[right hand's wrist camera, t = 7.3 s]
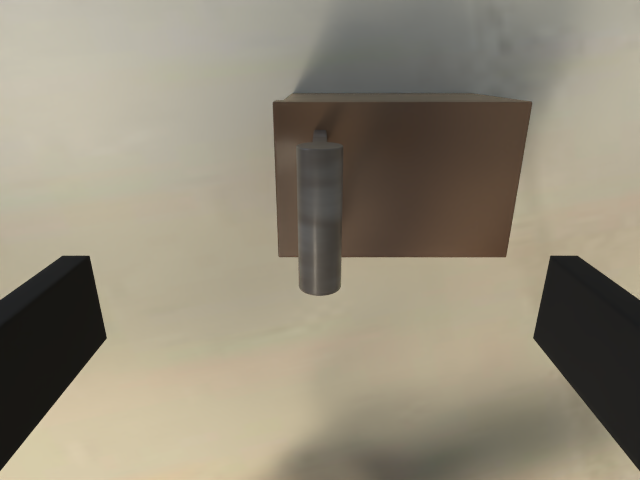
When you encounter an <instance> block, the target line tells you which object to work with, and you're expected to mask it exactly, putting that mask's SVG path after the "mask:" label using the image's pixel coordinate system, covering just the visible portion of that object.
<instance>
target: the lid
mask: <svg viewBox="0 0 640 480" xmlns="http://www.w3.org/2000/svg"><path fill="white" fill-rule="evenodd" d="M531 107H532V102H530V101H523V100H276V101H274V102H273V122H274V148H275V175H276V201H277V227H278V254H279V257H298V259H299V288H300V289H301V290H302V291H303V292H305V293H307V294H310V295H317V296H323V295H329V294H333V293H335V292H337V291H338V290H339V289H340V287H341V257H506V254H507V248H508V242H509V236H510V231H511V225H512V219H513V213H514V207H515V201H516V195H517V189H518V183H519V178H520V172H521V166H522V160H523V154H524V148H525V142H526V136H527V130H528V125H529V119H530V113H531Z"/></svg>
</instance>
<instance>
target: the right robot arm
mask: <svg viewBox="0 0 640 480" xmlns="http://www.w3.org/2000/svg"><path fill="white" fill-rule="evenodd" d="M106 338H107V337H106V332H105V327H104V323H103V318H102V313H101V308H100V304H99V299H98V294H97V289H96V285H95V280H94V275H93V270H92V265H91V261H90V256H62V257H60V258H59V259H57V260H56V261H55V262H53V263H52V264H50V265H49V266H48V267H46V268H45V269H43V270H42V271H41V272H39V273H38V274H36V275H35V276H34V277H32V278H31V279H29V280H28V281H27V282H25V283H24V284H22V285H21V286H20V287H18V288H17V289H15V290H14V291H12V292H11V293H10V294H8V295H7V296H5V297H4V298H3V299H1V300H0V471H1V469H2V468H3V467H4V466H5V464H6V463H7V462H8V461H9V459H10V458H11V457H12V456H13V454H14V453H15V452H16V451H17V449H18V448H19V447H20V446H21V444H22V443H23V442H24V441H25V439H26V438H27V437H28V436H29V434H30V433H31V432H32V431H33V429H34V428H35V427H36V426H37V424H38V423H39V422H40V421H41V420H42V418H43V417H44V416H45V415H46V413H47V412H48V411H49V410H50V408H51V407H52V406H53V405H54V403H55V402H56V401H57V400H58V398H59V397H60V396H61V395H62V393H63V392H64V391H65V390H66V388H67V387H68V386H69V385H70V383H71V382H72V381H73V380H74V378H75V377H76V376H77V375H78V373H79V372H80V371H81V370H82V368H83V367H84V366H85V365H86V363H87V362H88V361H89V360H90V358H91V357H92V356H93V355H94V353H95V352H96V351H97V350H98V348H99V347H100V346H101V345H102V343H103V342H104V341H105V340H106ZM533 338H534V340H535V341H536V342H537V343H538V345H539V346H540V347H541V348H542V350H543V351H544V352H545V353H546V355H547V356H548V357H549V358H550V360H551V361H552V362H553V363H554V365H555V366H556V367H557V368H558V370H559V371H560V372H561V373H562V375H563V376H564V377H565V378H566V380H567V381H568V382H569V383H570V385H571V386H572V387H573V388H574V390H575V391H576V392H577V393H578V395H579V396H580V397H581V398H582V400H583V401H584V402H585V403H586V405H587V406H588V407H589V408H590V410H591V411H592V412H593V413H594V415H595V416H596V417H597V418H598V420H599V421H600V422H601V423H602V425H603V426H604V427H605V428H606V429H607V431H608V432H609V433H610V434H611V436H612V437H613V438H614V439H615V441H616V442H617V443H618V444H619V446H620V447H621V448H622V449H623V451H624V452H625V453H626V454H627V456H628V457H629V458H630V459H631V461H632V462H633V463H634V464H635V466H636V467H637V468H638V469H639V471H640V300H639V299H637V298H636V297H635V296H633V295H632V294H630V293H629V292H627V291H626V290H625V289H623V288H622V287H620V286H619V285H618V284H616V283H615V282H613V281H612V280H611V279H609V278H608V277H606V276H605V275H604V274H602V273H601V272H599V271H598V270H597V269H595V268H594V267H592V266H591V265H590V264H588V263H587V262H585V261H584V260H583V259H581V258H580V257H578V256H550V261H549V265H548V270H547V275H546V280H545V285H544V289H543V294H542V299H541V304H540V308H539V313H538V318H537V323H536V327H535V332H534V337H533Z"/></svg>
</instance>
